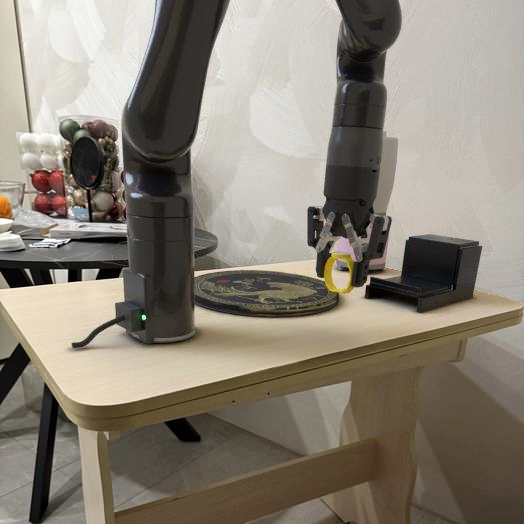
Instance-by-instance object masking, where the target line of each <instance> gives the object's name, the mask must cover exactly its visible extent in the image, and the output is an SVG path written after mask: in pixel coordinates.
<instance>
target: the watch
mask: <svg viewBox="0 0 524 524" xmlns="http://www.w3.org/2000/svg"><path fill="white" fill-rule="evenodd" d="M336 259H344V261H345V262H346V263H347V265H348V267H347V268H348V270H349V279H348V282H347V286H346V287H345V288H344V289H341V288H337V287H336V285H335V283H334V282H333V277H332V272H333V271H332V270H333V266H334V264H335V263H336ZM353 265H354V260H353V259H352V258H351V253H347V252H337V251H333V252H332V256H331V257H330V258H329V259H328V260H327V262H326V264H325V267H324V278H323V279H324V281H325V284H326V286H327V287H328V289H329V291H333V292H338V293H339V294H341V295H345V294H350V293H351V292H352V291H353V290H354V289H355V287H352V286H351V282H352V274H353Z"/></svg>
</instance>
